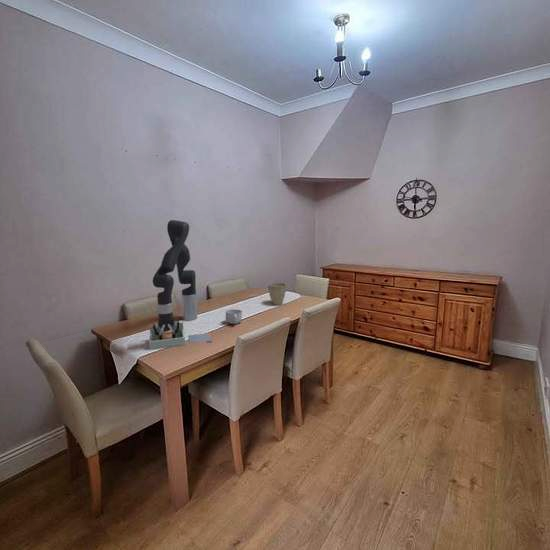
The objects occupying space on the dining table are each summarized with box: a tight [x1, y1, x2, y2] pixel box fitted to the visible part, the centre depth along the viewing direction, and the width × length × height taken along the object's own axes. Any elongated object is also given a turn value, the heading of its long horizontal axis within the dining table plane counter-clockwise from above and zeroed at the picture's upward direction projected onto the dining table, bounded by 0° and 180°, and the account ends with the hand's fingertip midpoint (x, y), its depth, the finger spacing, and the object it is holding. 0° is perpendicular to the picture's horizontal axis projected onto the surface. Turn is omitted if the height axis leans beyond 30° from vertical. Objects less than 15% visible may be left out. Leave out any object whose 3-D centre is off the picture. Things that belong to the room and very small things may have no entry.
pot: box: [161, 330, 173, 340], centre depth 166 cm, size 6×6×7 cm
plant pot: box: [267, 282, 287, 306], centre depth 241 cm, size 15×15×16 cm
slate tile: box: [187, 332, 213, 344], centre depth 172 cm, size 12×12×1 cm
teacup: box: [224, 308, 243, 325], centre depth 198 cm, size 14×11×8 cm
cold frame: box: [148, 322, 186, 350], centre depth 166 cm, size 14×18×9 cm
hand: (167, 340), depth 166 cm, fingers closed on pot, 5 cm apart
